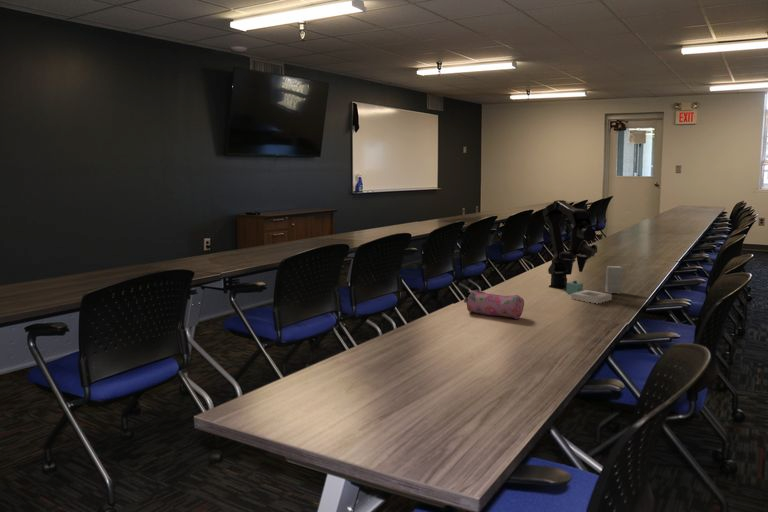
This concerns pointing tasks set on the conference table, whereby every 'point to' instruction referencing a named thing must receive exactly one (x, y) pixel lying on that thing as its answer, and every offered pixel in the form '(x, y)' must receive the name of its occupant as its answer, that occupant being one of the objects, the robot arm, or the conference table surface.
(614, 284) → the skincare box
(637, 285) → the conference table surface
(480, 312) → the pencil case
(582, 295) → the socket plate
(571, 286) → the plug
